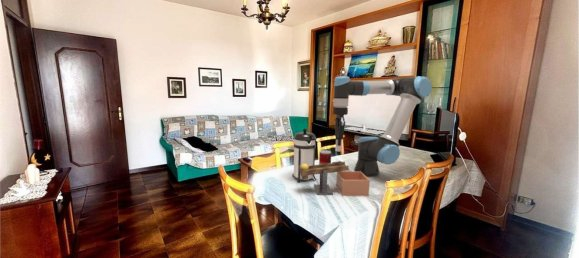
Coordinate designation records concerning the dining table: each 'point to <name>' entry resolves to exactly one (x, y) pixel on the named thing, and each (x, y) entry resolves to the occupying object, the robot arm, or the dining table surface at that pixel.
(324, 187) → the chute stand
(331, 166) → the tipping chute
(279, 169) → the dining table surface
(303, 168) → the ball
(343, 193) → the brown cardboard box
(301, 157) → the coffee press
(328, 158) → the canned food
